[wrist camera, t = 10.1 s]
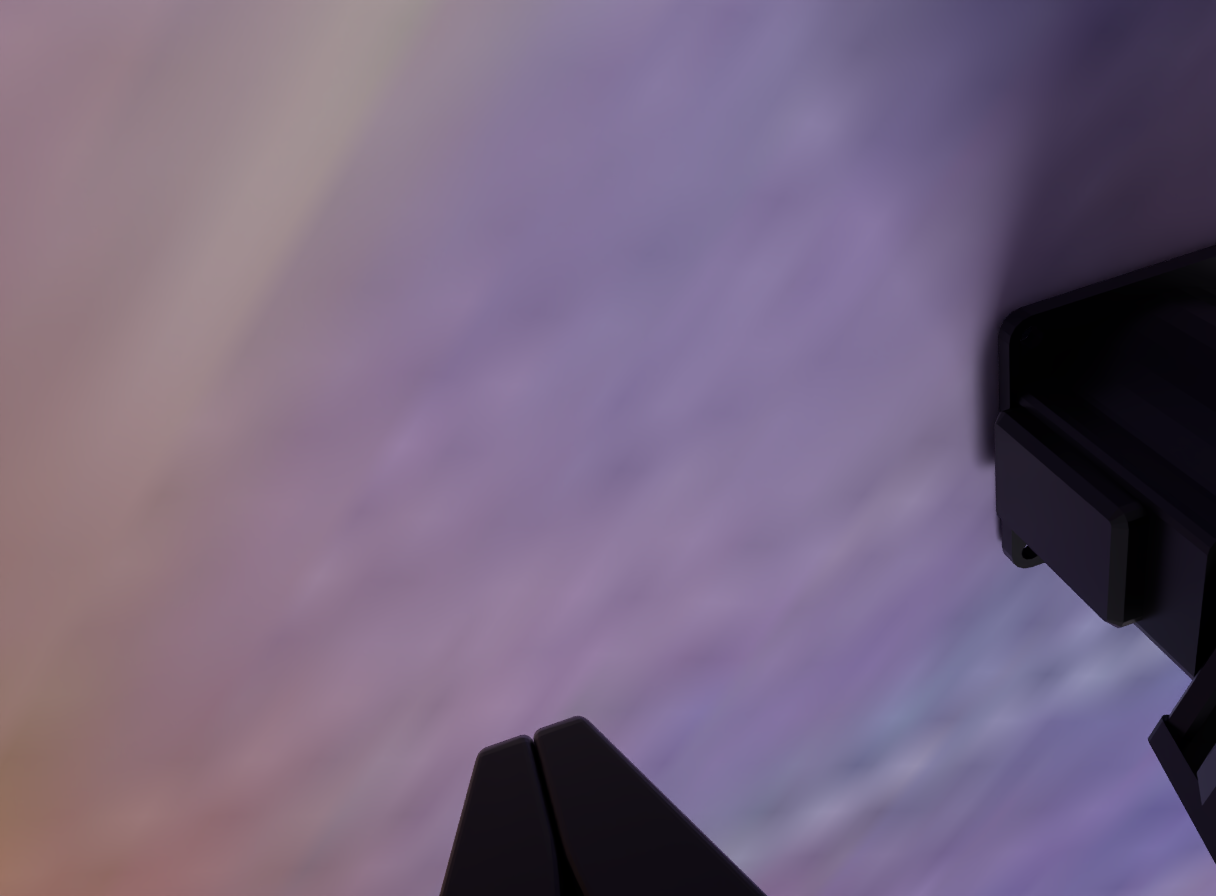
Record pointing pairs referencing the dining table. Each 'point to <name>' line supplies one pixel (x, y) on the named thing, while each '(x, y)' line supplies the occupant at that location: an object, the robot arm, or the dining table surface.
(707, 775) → the dining table surface
